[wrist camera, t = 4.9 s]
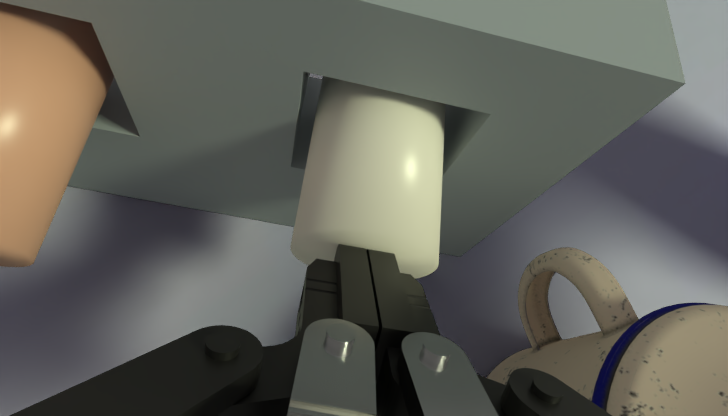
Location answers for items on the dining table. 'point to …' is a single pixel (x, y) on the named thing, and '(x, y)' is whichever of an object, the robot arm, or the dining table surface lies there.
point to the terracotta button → (43, 119)
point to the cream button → (373, 177)
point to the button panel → (370, 68)
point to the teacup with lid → (624, 345)
